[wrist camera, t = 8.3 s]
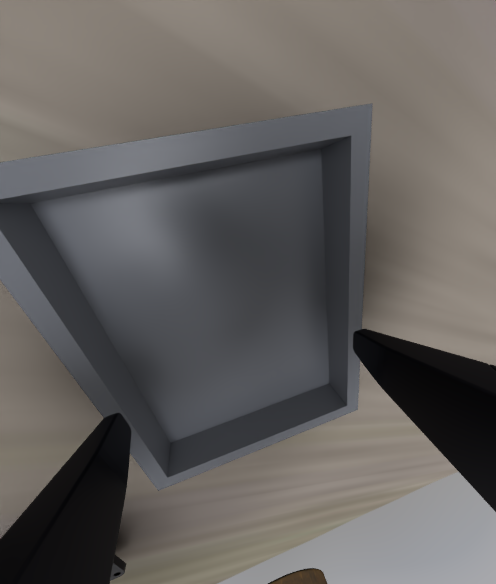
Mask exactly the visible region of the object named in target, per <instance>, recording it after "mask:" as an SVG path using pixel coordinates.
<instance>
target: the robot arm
mask: <svg viewBox="0 0 496 584" xmlns="http://www.w3.org/2000/svg"><path fill="white" fill-rule="evenodd" d="M353 350H354V352H355V354H356V355H357V357H358V358H359V359H360V360H361V362H362V363H363V364H364V366H365V367H366V368H367V370H368V371H369V372H370V374H371V375H372V376H373V377H374V379H375V380H376V381H377V383H378V384H379V385H380V386H381V387H382V389H383V390H384V391H385V392H386V393H387V394H388V395H389V396H390V397H391V398H392V400H393V401H394V402H395V403H396V404H397V405H398V406H399V407H400V408H401V409H402V410H403V411H404V413H405V414H406V415H407V416H408V417H409V418H410V419H411V420H412V421H413V422H414V423H415V425H416V426H417V427H418V428H419V429H420V430H421V431H422V432H423V433H424V434H425V435H426V436H427V438H428V439H429V440H430V441H431V442H432V443H433V444H434V445H435V446H436V447H437V448H438V450H439V451H440V452H441V453H442V454H443V455H444V456H445V457H446V458H447V459H448V460H449V462H450V463H451V464H452V465H453V466H454V467H455V468H456V469H457V470H458V471H459V472H460V473H461V475H462V476H463V477H464V478H465V479H466V480H467V481H468V482H469V483H470V484H471V485H472V486H473V488H474V489H475V490H476V491H477V492H478V493H479V494H480V495H481V496H482V497H483V498H484V500H485V501H486V502H487V503H488V504H489V505H490V506H491V507H492V508H493V509H494V510H495V512H496V366H494V365H488V364H487V363H484V362H480V361H477V360H473V359H470V358H466V357H462V356H459V355H455V354H452V353H448V352H445V351H441V350H438V349H434V348H431V347H427V346H424V345H420V344H417V343H413V342H410V341H406V340H403V339H399V338H396V337H392V336H388V335H385V334H381V333H378V332H374V331H371V330H367V329H360V330H357V331H355V332H354V333H353ZM130 445H131V428H130V426H129V424H128V423H127V421H126V420H125V418H124V417H123V415H122V414H121V413H115V414H112V415H109V416H107V417H105V418H104V419H103V420H102V421H101V422H100V424H99V425H98V426H97V427H96V428H95V429H94V431H93V432H92V433H91V434H90V435H89V436H88V438H87V439H86V440H85V441H84V442H83V443H82V445H81V446H80V447H79V448H78V449H77V450H76V452H75V453H74V454H73V455H72V456H71V457H70V459H69V460H68V461H67V462H66V463H65V464H64V466H63V467H62V468H61V469H60V470H59V471H58V473H57V474H56V475H55V476H54V477H53V478H52V480H51V481H50V482H49V483H48V484H47V485H46V487H45V488H44V489H43V490H42V491H41V492H40V494H39V495H38V496H37V497H36V498H35V499H34V501H33V502H32V503H31V504H30V505H29V506H28V508H27V509H26V510H25V511H24V512H23V513H22V515H21V516H20V517H19V518H18V519H17V520H16V522H15V523H14V524H13V525H12V526H11V527H10V529H9V530H8V531H7V532H6V533H5V534H4V536H3V537H2V538H1V539H0V584H109V583H110V581H111V580H113V579H115V578H117V577H120V576H121V575H123V574H124V572H125V567H126V563H125V562H124V561H122V560H121V559H120V558H119V557H117V556H116V555H115V550H116V544H117V539H118V533H119V528H120V522H121V517H122V511H123V505H124V500H125V494H126V488H127V479H128V468H129V456H130Z"/></svg>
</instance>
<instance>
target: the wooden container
mask: <svg viewBox="0 0 496 584" xmlns="http://www.w3.org/2000/svg"><path fill="white" fill-rule="evenodd" d="M268 584H327V582H326V579H325V577H324V574H323V572H322V571H321V570H319V569H314V568H310V569H304V570H299V571H296V572H293V573H290V574H287V575H285V576H282V577H280V578H278V579H276V580H274V581H272V582H270V583H268Z"/></svg>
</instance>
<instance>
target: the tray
mask: <svg viewBox="0 0 496 584" xmlns="http://www.w3.org/2000/svg"><path fill="white" fill-rule="evenodd" d="M371 123H372V104H366V105H360V106H353V107H347V108H341V109H334V110H328V111H322V112H315V113H309V114H303V115H297V116H290V117H284V118H278V119H271V120H265V121H259V122H252V123H246V124H240V125H233V126H227V127H221V128H215V129H208V130H202V131H196V132H189V133H183V134H177V135H170V136H164V137H158V138H152V139H145V140H139V141H133V142H126V143H120V144H114V145H107V146H101V147H95V148H89V149H82V150H76V151H70V152H63V153H57V154H51V155H44V156H38V157H32V158H26V159H19V160H13V161H7V162H0V280H1V281H2V283H3V284H4V285H5V287H6V288H7V289H8V291H9V292H10V293H11V295H12V296H13V297H14V299H15V300H16V301H17V303H18V304H19V305H20V307H21V308H22V309H23V311H24V312H25V313H26V315H27V316H28V317H29V319H30V320H31V321H32V323H33V324H34V325H35V327H36V328H37V329H38V331H39V332H40V333H41V335H42V336H43V337H44V339H45V340H46V341H47V343H48V344H49V345H50V347H51V348H52V349H53V351H54V352H55V353H56V355H57V356H58V357H59V359H60V360H61V361H62V363H63V364H64V365H65V367H66V368H67V369H68V371H69V372H70V373H71V375H72V376H73V377H74V379H75V380H76V381H77V383H78V384H79V385H80V387H81V388H82V389H83V391H84V392H85V393H86V395H87V396H88V397H89V399H90V400H91V401H92V403H93V404H94V405H95V407H96V408H97V409H98V411H99V412H100V413H101V415H102V416H103V418H105V417H107V416H109V415H112V414H115V413H121V414H122V415H123V417H124V418H125V420H126V421H127V423H128V424H129V426H130V428H131V445H130V454H131V455H132V456H133V458H134V459H135V460H136V462H137V463H138V464H139V466H140V467H141V468H142V470H143V471H144V472H145V474H146V475H147V476H148V478H149V479H150V480H151V482H152V483H153V484H154V486H155V487H156V488H157V490H158V491H159V490H161V489H164V488H166V487H169V486H171V485H174V484H176V483H179V482H181V481H183V480H186V479H188V478H191V477H193V476H196V475H198V474H201V473H203V472H206V471H208V470H210V469H213V468H215V467H218V466H220V465H223V464H225V463H228V462H230V461H233V460H235V459H238V458H240V457H242V456H245V455H247V454H250V453H252V452H255V451H257V450H260V449H262V448H265V447H267V446H269V445H272V444H274V443H277V442H279V441H282V440H284V439H287V438H289V437H292V436H294V435H296V434H299V433H301V432H304V431H306V430H309V429H311V428H314V427H316V426H319V425H321V424H324V423H326V422H328V421H331V420H333V419H336V418H338V417H341V416H343V415H346V414H348V413H351V412H353V411H355V410H358V393H359V372H360V359H359V358H358V357H357V355H356V354H355V352H354V350H353V333H354V332H355V331H357V330H360V329H362V310H363V289H364V268H365V248H366V227H367V206H368V185H369V165H370V144H371Z"/></svg>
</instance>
